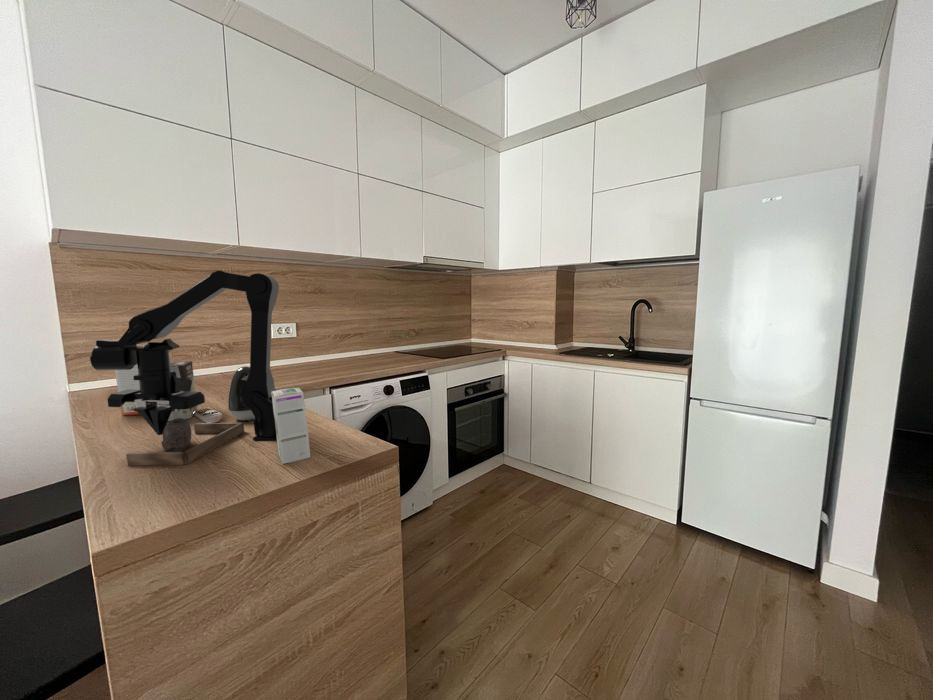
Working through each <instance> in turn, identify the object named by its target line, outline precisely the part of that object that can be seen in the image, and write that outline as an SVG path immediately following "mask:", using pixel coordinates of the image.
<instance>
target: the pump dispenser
mask: <svg viewBox="0 0 933 700" xmlns="http://www.w3.org/2000/svg"><path fill="white" fill-rule="evenodd" d="M249 372H250V366H241V367H239V368H237V369H236V370H235V372H234V373H233V376H232V379H231V380H230V385H229V390H228V396H227V409H228V410H229V412H230V414H231V416H233V418H234V419H236V420H238V421H242V420H243V422H245V420H248V421H253V420H252V419H255V416H254V415H253V413H252V411H251V409H250V408H248V407H247V406H245V405H244V404H243V401H242V397H239V395H240V393H241V387H240V380H241V379H243V378H244V377H246V376H248V375H249Z"/></svg>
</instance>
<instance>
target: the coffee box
mask: <svg viewBox="0 0 933 700" xmlns="http://www.w3.org/2000/svg"><path fill="white" fill-rule="evenodd" d="M193 368H194V366H193V361H192V360H189V361H188V360H186V361H177V362H176V361H175V362H174V363H170V370H171V371H175V373H176V376H177V378H184V379H190V380H192V386H191V391H196V384H195V382H196V381H195V375H194V369H193ZM183 392H184V391H180V392H179V393H174V394H172V395H177V394H180V393H183ZM196 392H197V391H196ZM198 406H199V405H197V406H195V407H192V408H189V409H174V410H173V411H172V412H171V414H170V417H169V419H168V422H170V421H172V420H174V419H176V418H183V419H185V420H190V419H191V418H192V417H193V416H194V415H193V412H194V411H197V410H198V411H199V407H198ZM198 411H197V412H198Z"/></svg>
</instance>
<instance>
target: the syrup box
mask: <svg viewBox="0 0 933 700" xmlns="http://www.w3.org/2000/svg"><path fill="white" fill-rule="evenodd" d="M272 402H273V411H274V419H275V427H276V435H277V440H276V443H277V451H278V457H279V460H280V462H281V464H282V465H284V464H290V463H291V464H292V463H294V462H299V461H303V460H307V459H310V458H311V451H310V449H311V448H310V440H309V438H310V437H309V430H308V422H307V414H306V405H305V396H304V392H303V391H302V390H301V388H300V387H287V388H281V389H275V391H272Z"/></svg>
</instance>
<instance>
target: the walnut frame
mask: <svg viewBox="0 0 933 700" xmlns="http://www.w3.org/2000/svg"><path fill="white" fill-rule="evenodd" d="M193 428H194V434H195V433H202V434H216V435H214V436H212V437H210V438H209V439H207V440H204V441H203V442H200V443H198V444H197V445H195V446H193V447H190V448H189V449H187V450H186V451H185V452H166V451H163V452H161V451H157V452H156V451H155V452H154V451H153V452H150V451H149V452H148V451H147V452H128V453H126V454H125V456H126V460H127V461H126V463H127V466H177V465H178V466H180V465H181V466H185V465H188V463H189V464H190V463H192V462H194V461H195V459H196V460H197V459H199V458H201V457H202V455H203V456H204V455H206V454H208V453H210V452H211V451H213V450H215V449H217V448H218V446H219V445H220V446H222V445H224V444H226V443H227V442H229V441H230V439H231V438H233V437H234V438H236V437H238V436H240V435H242V434H243V433H245V425H244V422H208V423H207V422H205V423H204V422H203V423H199V422H198V423H197V422H196V423H194V424H193ZM242 432H243V433H242ZM241 433H242V434H241ZM239 434H240V435H239ZM237 435H238V436H237ZM235 436H236V437H235ZM234 438H233V439H234ZM228 440H229V441H228ZM231 440H232V439H231ZM226 441H227V442H226ZM225 442H226V443H225ZM223 443H224V444H223ZM221 444H222V445H221ZM220 446H219V447H220ZM216 447H217V448H216ZM214 448H215V449H214ZM212 449H213V450H212ZM210 450H211V451H210ZM209 451H210V452H209ZM207 452H208V453H207ZM200 456H201V457H200ZM198 457H199V458H198ZM193 460H194V461H193Z"/></svg>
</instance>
